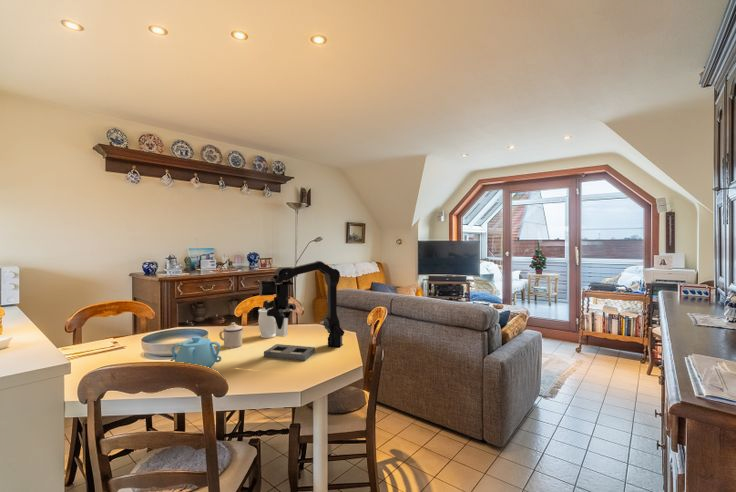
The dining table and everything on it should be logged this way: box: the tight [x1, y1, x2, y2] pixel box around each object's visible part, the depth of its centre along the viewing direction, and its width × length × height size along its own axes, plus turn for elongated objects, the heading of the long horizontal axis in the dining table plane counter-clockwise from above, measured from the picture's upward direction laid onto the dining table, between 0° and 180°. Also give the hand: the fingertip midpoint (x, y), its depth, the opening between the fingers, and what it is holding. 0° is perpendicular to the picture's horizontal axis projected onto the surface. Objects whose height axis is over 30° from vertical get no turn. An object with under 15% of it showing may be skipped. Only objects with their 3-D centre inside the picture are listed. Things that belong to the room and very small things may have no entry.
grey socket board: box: [263, 343, 316, 362], centre depth 159 cm, size 20×12×3 cm, turn 78°
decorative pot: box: [169, 335, 222, 369], centre depth 141 cm, size 16×16×14 cm
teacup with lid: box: [219, 322, 244, 349], centre depth 174 cm, size 12×9×12 cm
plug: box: [275, 318, 289, 338], centre depth 160 cm, size 5×4×8 cm
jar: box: [258, 307, 277, 339], centre depth 191 cm, size 11×10×15 cm
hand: (281, 327), depth 160 cm, fingers closed on plug, 4 cm apart
